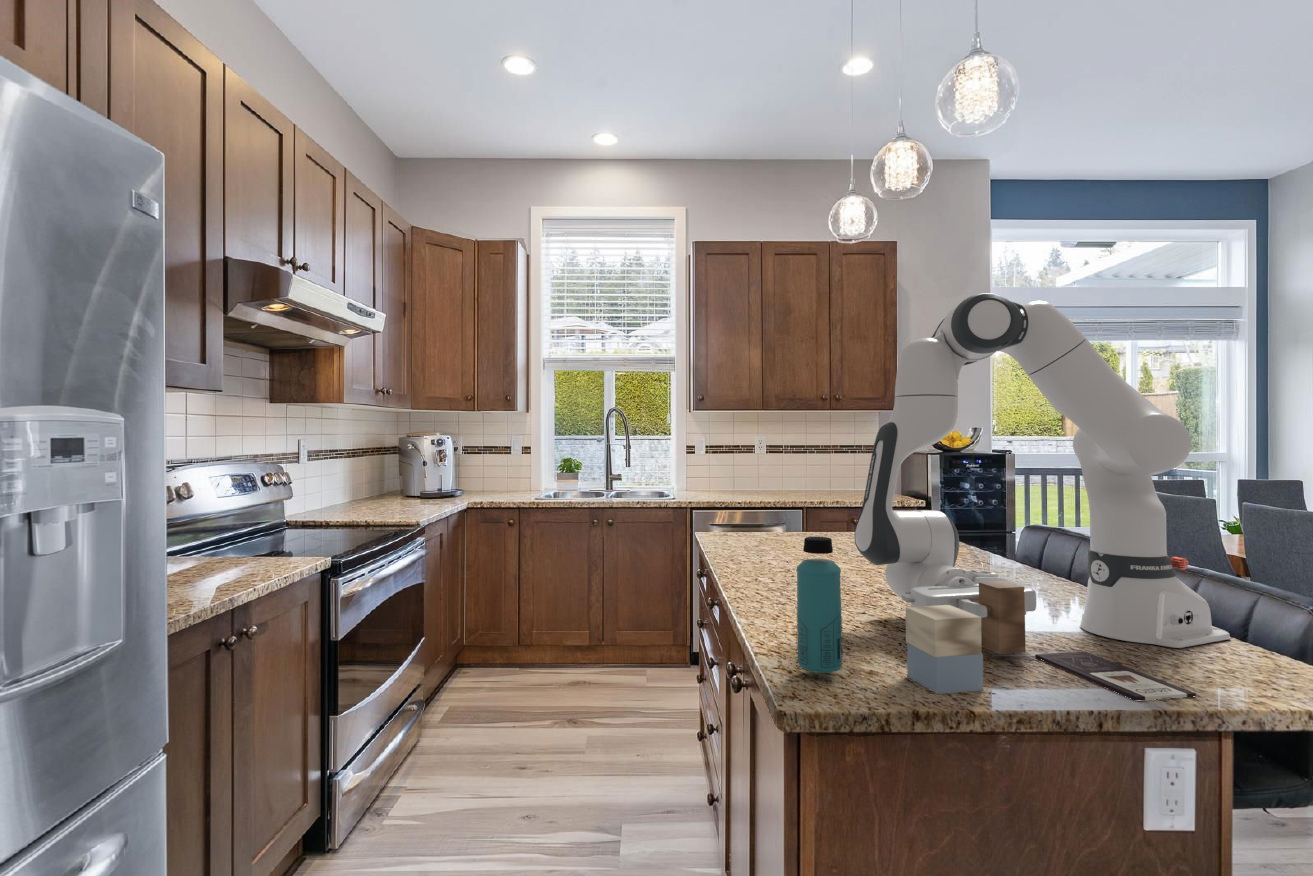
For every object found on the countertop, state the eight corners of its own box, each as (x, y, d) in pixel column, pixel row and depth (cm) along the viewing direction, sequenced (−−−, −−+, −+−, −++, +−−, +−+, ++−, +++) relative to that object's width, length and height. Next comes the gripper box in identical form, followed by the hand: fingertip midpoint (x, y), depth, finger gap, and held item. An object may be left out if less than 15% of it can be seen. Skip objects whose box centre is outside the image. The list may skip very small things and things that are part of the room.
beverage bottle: (844, 685, 92) (844, 540, 92) (795, 682, 93) (795, 539, 93) (841, 669, 98) (840, 534, 98) (795, 666, 99) (795, 533, 100)
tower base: (951, 673, 97) (950, 639, 97) (983, 691, 90) (983, 654, 90) (907, 677, 95) (907, 642, 95) (936, 695, 88) (936, 657, 89)
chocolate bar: (1085, 651, 105) (1195, 693, 87) (1085, 657, 105) (1195, 700, 87) (1035, 654, 104) (1136, 697, 86) (1035, 660, 104) (1136, 704, 86)
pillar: (1004, 643, 106) (1003, 580, 106) (1025, 652, 101) (1024, 586, 101) (979, 645, 105) (978, 582, 105) (999, 654, 101) (998, 588, 101)
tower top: (949, 639, 97) (949, 604, 97) (981, 654, 90) (981, 617, 90) (905, 641, 96) (905, 607, 96) (935, 657, 89) (934, 619, 89)
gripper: (895, 577, 114) (944, 594, 100) (1000, 571, 118) (1061, 587, 104) (896, 613, 114) (945, 636, 100) (1001, 606, 118) (1062, 627, 104)
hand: (1005, 611), depth 102 cm, fingers closed on pillar, 4 cm apart
